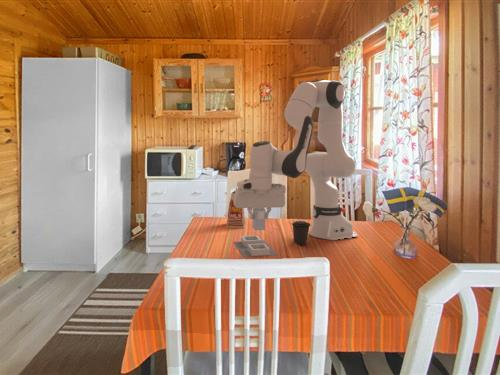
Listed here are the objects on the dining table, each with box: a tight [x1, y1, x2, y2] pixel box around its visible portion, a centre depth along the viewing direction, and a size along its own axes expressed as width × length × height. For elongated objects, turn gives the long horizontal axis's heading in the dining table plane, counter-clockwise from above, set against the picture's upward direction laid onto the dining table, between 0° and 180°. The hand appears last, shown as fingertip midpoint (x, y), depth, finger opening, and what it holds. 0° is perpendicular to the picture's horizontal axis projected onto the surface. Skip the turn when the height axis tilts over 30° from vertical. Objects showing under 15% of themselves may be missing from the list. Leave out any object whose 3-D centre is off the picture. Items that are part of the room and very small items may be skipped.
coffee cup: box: [291, 220, 311, 247], centre depth 175 cm, size 8×8×10 cm
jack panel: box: [233, 234, 279, 258], centre depth 165 cm, size 14×20×4 cm
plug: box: [252, 208, 267, 231], centre depth 157 cm, size 4×5×8 cm
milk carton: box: [226, 187, 246, 229], centre depth 203 cm, size 9×9×20 cm
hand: (258, 218), depth 157 cm, fingers closed on plug, 4 cm apart
